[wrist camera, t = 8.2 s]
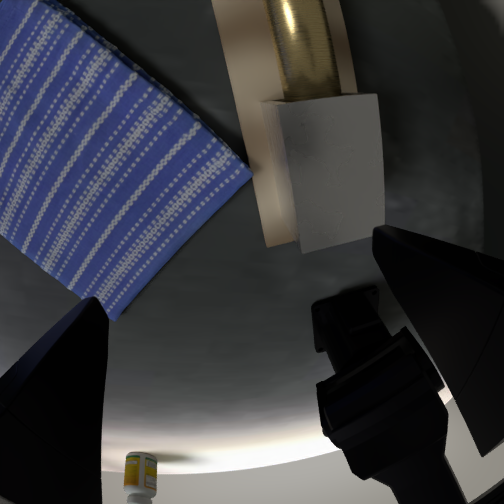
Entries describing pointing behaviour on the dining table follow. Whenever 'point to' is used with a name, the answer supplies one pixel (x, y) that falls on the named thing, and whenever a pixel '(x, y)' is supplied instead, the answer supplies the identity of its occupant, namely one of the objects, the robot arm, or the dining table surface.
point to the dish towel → (98, 157)
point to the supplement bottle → (140, 478)
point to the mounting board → (266, 91)
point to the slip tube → (303, 49)
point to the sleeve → (327, 167)
